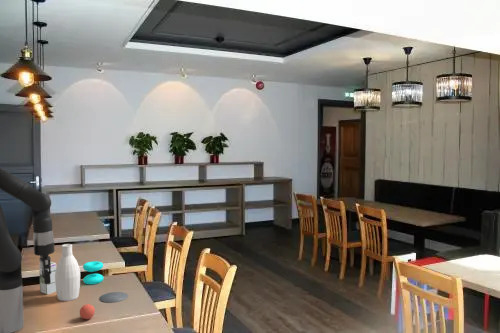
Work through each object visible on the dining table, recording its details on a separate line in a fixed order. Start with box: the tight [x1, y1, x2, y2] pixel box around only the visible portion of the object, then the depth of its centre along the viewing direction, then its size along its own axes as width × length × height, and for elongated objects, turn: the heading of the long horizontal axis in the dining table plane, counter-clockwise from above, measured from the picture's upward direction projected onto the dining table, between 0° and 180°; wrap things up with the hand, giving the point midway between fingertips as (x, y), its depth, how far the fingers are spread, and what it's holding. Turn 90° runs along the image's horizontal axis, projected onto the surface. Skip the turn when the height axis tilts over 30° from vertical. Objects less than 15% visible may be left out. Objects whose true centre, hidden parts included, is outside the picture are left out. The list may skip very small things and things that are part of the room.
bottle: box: [55, 243, 81, 302], centre depth 201 cm, size 11×11×25 cm
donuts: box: [82, 260, 104, 285], centre depth 224 cm, size 10×10×10 cm
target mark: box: [98, 291, 129, 304], centre depth 203 cm, size 13×13×1 cm
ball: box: [79, 303, 96, 320], centre depth 179 cm, size 6×6×6 cm
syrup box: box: [38, 261, 57, 295], centre depth 209 cm, size 6×6×14 cm
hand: (46, 280), depth 175 cm, fingers open, 8 cm apart
